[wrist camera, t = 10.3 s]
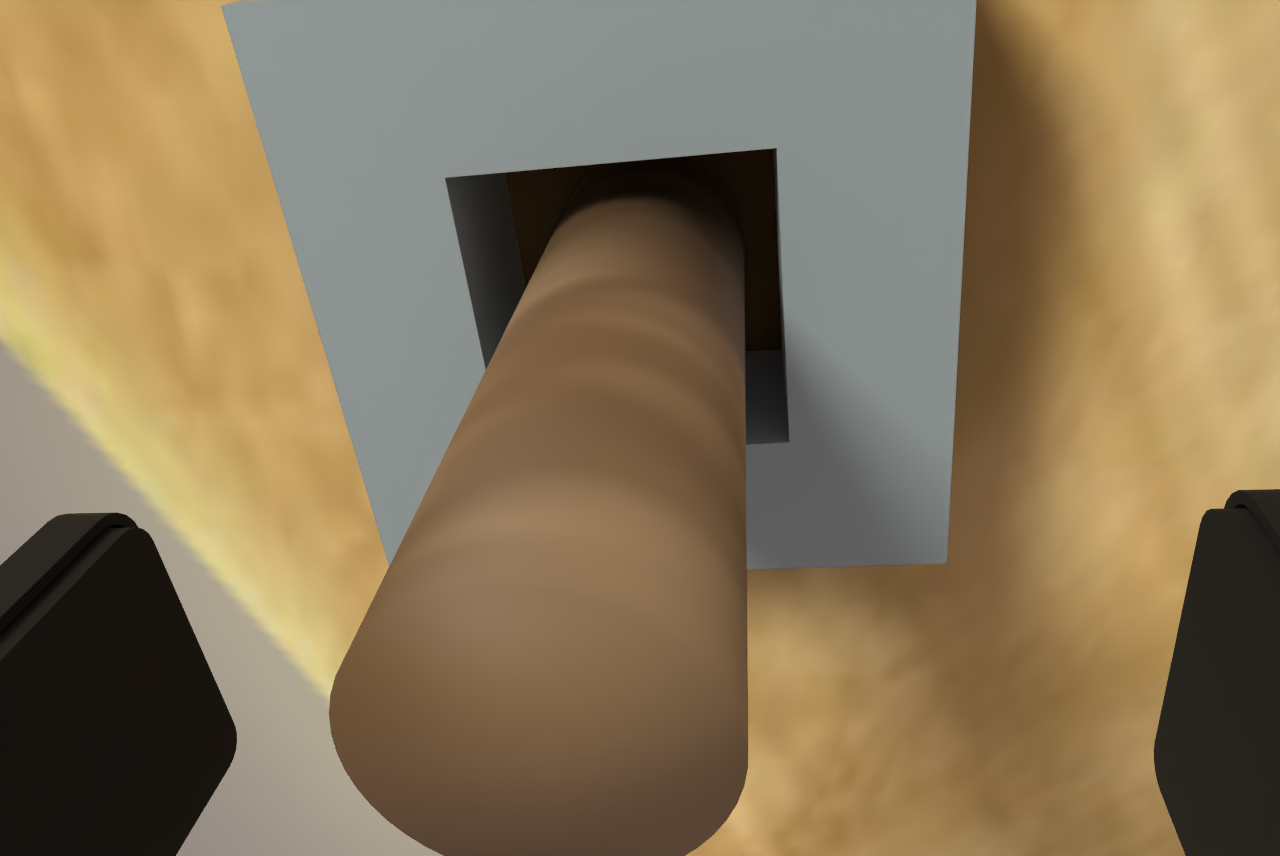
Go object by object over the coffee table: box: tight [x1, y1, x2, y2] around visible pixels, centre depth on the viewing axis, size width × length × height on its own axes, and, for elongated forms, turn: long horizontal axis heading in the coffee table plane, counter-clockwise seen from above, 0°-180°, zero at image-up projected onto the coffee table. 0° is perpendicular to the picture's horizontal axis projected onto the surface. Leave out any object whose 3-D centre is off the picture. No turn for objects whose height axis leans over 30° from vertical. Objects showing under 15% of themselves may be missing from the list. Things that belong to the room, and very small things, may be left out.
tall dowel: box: [329, 156, 748, 856], centre depth 13 cm, size 3×3×12 cm
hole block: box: [221, 0, 976, 570], centre depth 17 cm, size 10×10×4 cm
